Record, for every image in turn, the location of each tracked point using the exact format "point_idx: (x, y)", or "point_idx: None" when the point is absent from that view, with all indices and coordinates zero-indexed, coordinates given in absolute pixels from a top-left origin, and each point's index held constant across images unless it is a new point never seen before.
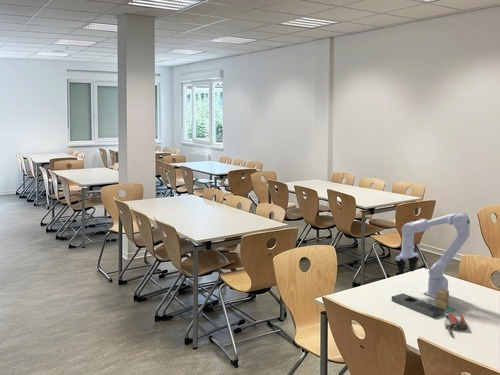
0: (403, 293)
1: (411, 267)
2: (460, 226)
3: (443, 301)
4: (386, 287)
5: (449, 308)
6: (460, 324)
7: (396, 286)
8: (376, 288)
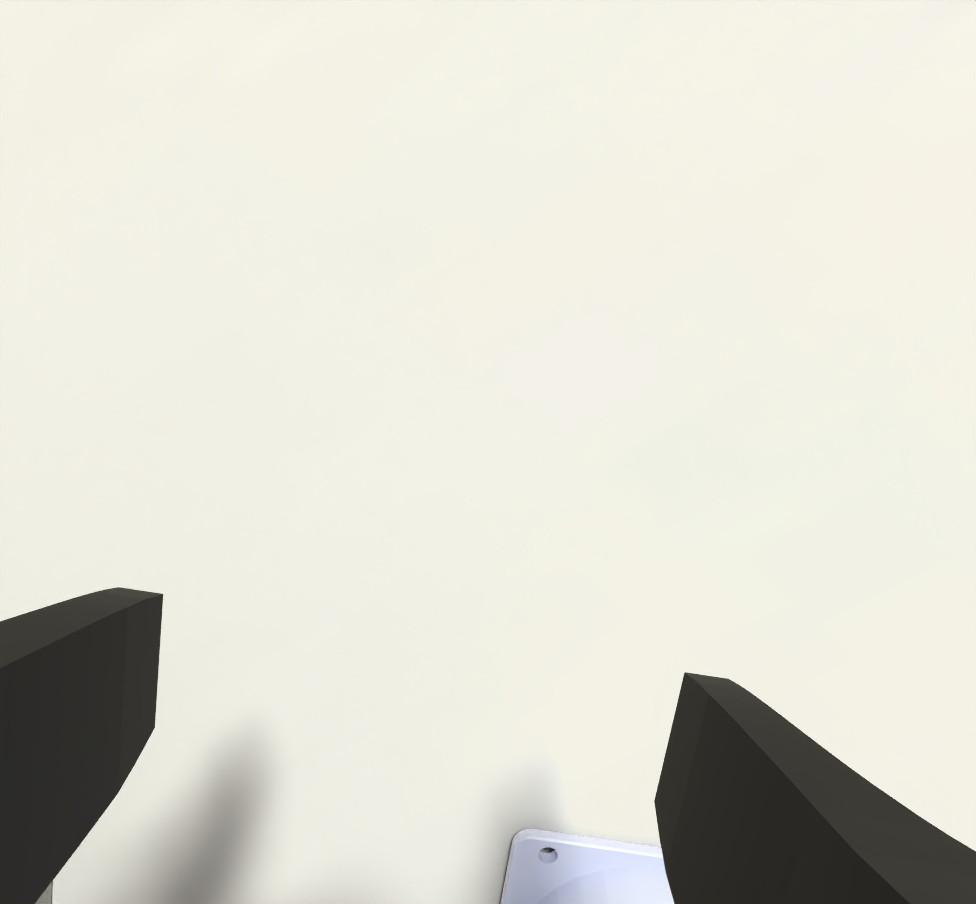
0: None
1: (710, 851)
2: None
3: None
4: (252, 158)
5: None
6: None
7: (482, 269)
8: (13, 42)
